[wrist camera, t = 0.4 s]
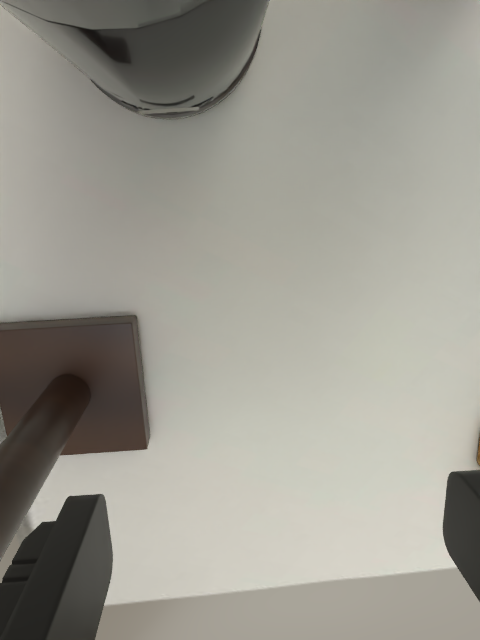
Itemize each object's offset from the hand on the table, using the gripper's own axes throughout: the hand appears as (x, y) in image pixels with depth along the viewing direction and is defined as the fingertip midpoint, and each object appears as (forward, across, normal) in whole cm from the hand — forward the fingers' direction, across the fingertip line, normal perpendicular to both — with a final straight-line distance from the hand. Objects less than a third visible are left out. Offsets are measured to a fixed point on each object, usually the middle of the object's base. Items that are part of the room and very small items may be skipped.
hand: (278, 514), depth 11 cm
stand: (+17, +10, +4) cm, 20 cm away
